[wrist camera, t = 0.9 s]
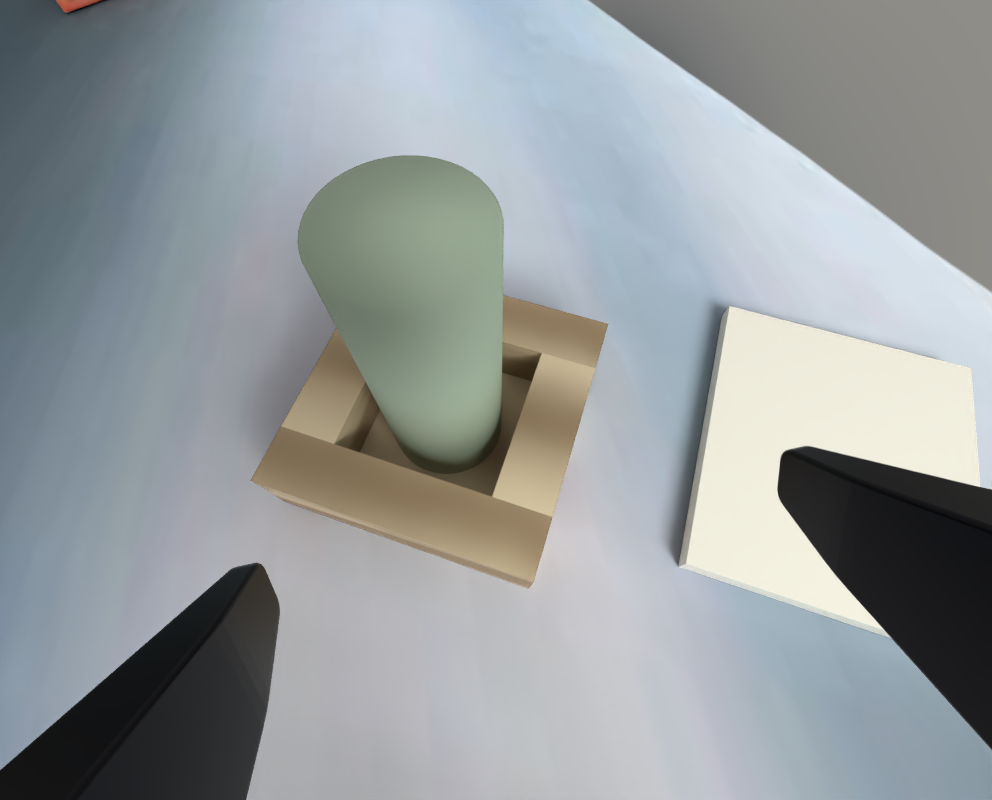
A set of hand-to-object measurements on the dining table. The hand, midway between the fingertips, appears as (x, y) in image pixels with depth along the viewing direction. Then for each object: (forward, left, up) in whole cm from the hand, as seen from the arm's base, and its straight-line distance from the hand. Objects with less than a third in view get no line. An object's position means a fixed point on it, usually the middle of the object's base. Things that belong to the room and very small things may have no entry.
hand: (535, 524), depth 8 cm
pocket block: (+6, +5, -14) cm, 17 cm away
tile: (+10, -13, -14) cm, 22 cm away
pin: (+6, +5, -14) cm, 16 cm away
